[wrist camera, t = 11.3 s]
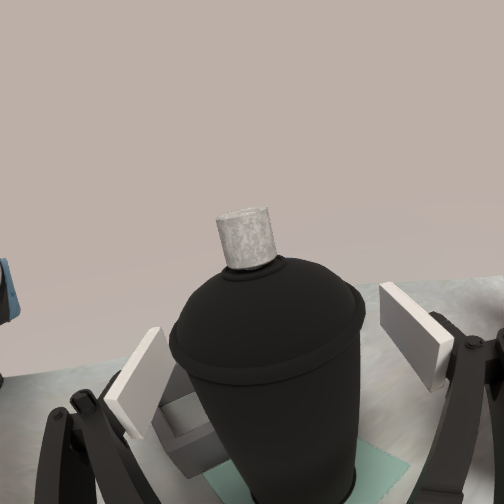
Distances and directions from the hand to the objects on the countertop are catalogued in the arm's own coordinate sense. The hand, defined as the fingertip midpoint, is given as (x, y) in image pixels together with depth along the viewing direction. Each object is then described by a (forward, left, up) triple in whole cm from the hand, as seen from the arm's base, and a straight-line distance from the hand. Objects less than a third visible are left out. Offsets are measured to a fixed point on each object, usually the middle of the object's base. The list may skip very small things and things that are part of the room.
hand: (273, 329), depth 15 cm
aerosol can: (+3, -2, -13) cm, 14 cm away
